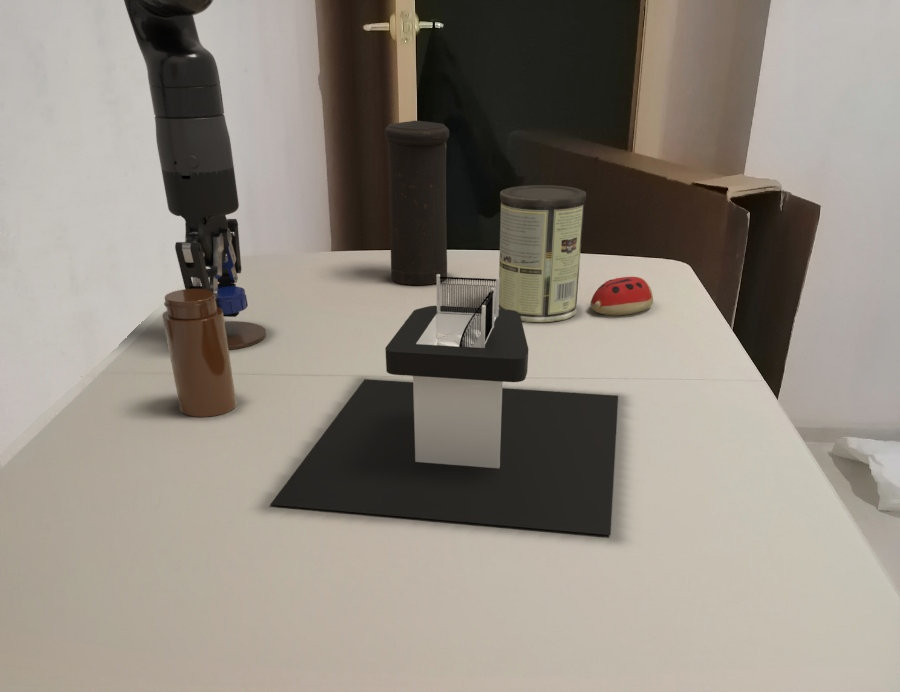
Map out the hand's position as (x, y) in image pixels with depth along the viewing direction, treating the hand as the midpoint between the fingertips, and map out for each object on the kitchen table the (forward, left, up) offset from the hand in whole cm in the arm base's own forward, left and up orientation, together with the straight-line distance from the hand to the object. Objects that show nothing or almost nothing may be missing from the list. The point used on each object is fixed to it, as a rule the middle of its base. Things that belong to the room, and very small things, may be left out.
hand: (221, 323), depth 99 cm
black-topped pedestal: (+31, -28, -2) cm, 42 cm away
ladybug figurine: (+48, +16, -2) cm, 51 cm away
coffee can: (+37, +14, -2) cm, 40 cm away
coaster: (0, 0, -2) cm, 2 cm away
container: (+20, +29, -2) cm, 35 cm away
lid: (0, 0, +3) cm, 3 cm away
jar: (+5, -21, -2) cm, 22 cm away
